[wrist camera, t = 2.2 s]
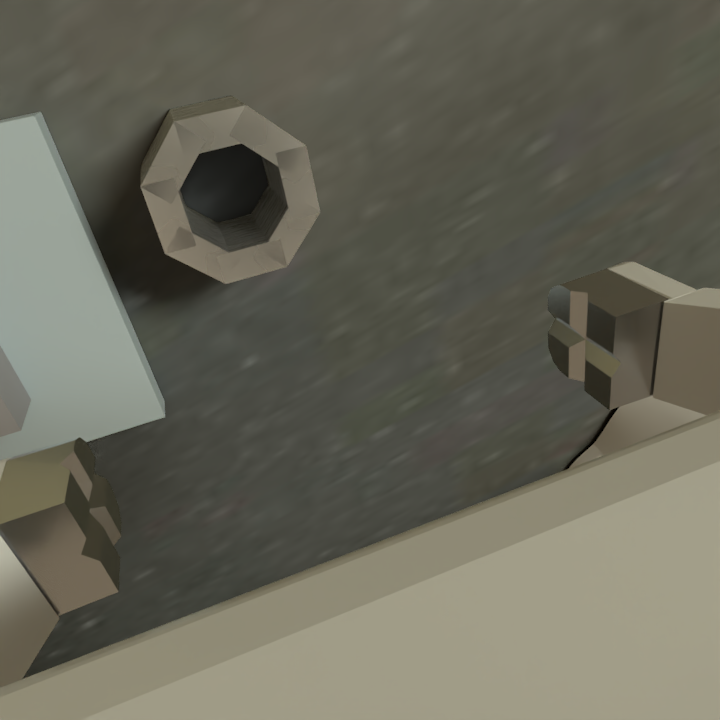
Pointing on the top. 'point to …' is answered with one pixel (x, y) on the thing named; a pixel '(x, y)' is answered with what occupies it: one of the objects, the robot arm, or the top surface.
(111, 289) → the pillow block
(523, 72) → the top surface
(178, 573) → the top surface
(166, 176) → the ring
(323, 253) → the top surface
